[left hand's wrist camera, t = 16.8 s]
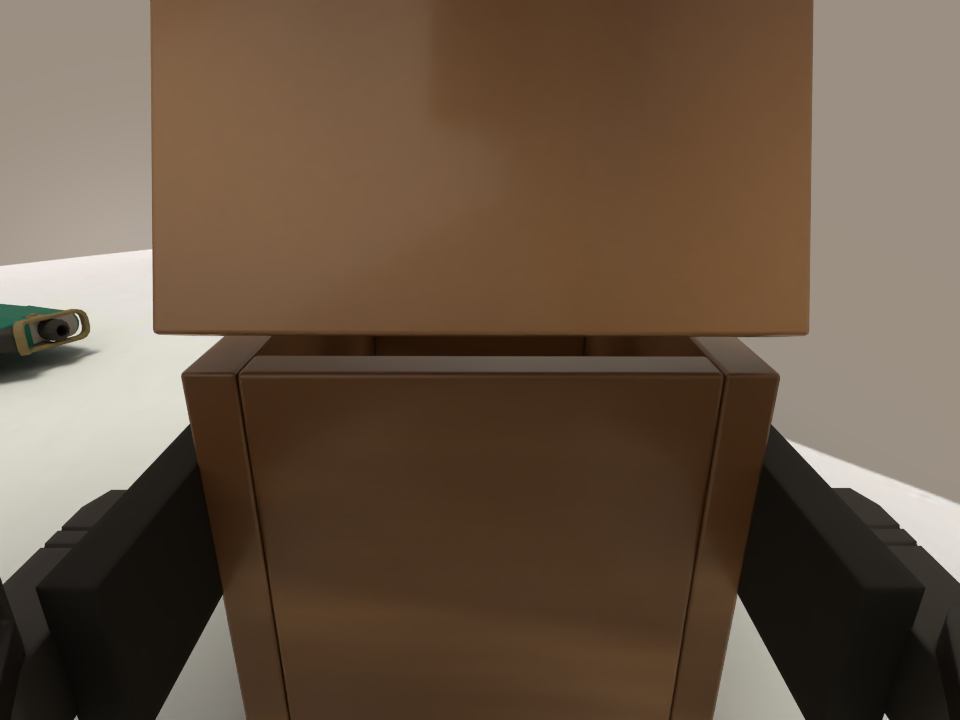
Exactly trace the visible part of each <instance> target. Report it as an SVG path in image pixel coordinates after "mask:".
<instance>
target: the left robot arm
mask: <svg viewBox="0 0 960 720" xmlns="http://www.w3.org/2000/svg"><path fill="white" fill-rule="evenodd" d="M899 526H900V525H899V524H898V523H897V522H896V521H895V520H894V519H893V518H892V517H891V516H890V515H889V514H888V513H887V512H886V511H885V510H884V509H883V508H882V507H881V506H880V505H878V504H876V503H875V502H873V501H871V500H870V499H868V498H866V497H864V496H863V495H861V494H859V493H858V492H856V491H854V490H852V489H851V488H831V487H830V486H829V485H828V484H827V483H826V482H825V481H824V480H823V479H822V477H821V476H820V475H819V474H818V473H817V472H816V471H815V470H814V469H813V468H812V467H811V466H810V465H809V464H808V463H807V462H806V461H805V460H804V458H803V457H802V456H801V455H800V454H799V453H798V452H797V451H796V450H795V449H794V448H793V447H792V446H791V445H790V444H789V443H788V442H787V440H786V439H785V438H784V437H783V436H782V435H781V434H780V433H779V432H778V431H777V430H776V429H775V428H774V427H773V426H772V425H771V427H770V432H769V437H768V442H767V447H766V452H765V457H764V462H763V465H762V470H761V475H760V480H759V486H758V491H757V496H756V501H755V506H754V511H753V516H752V522H751V527H750V532H749V537H748V542H747V547H746V552H745V557H744V563H743V568H742V573H741V578H740V583H739V588H738V593H737V594H738V595H739V597H740V599H741V601H742V603H743V605H744V607H745V608H746V610H747V612H748V614H749V616H750V618H751V620H752V621H753V623H754V625H755V627H756V629H757V631H758V633H759V634H760V636H761V638H762V640H763V642H764V644H765V646H766V647H767V649H768V651H769V653H770V655H771V657H772V659H773V660H774V662H775V664H776V666H777V668H778V670H779V672H780V673H781V675H782V677H783V679H784V681H785V683H786V685H787V686H788V688H789V690H790V692H791V694H792V696H793V698H794V699H795V701H796V703H797V705H798V707H799V709H800V710H801V712H802V714H803V716H804V718H805V720H882V719H883V716H884V713H885V714H886V716H887V717H888V718H889V720H960V583H959V582H958V581H957V580H956V579H955V578H954V577H952V576H951V575H950V574H949V573H948V572H947V571H946V570H945V569H944V568H943V567H942V566H941V565H940V564H939V563H938V562H937V561H936V560H935V559H934V558H933V557H932V556H931V555H930V554H929V553H928V552H927V551H926V550H925V549H924V548H923V547H922V546H917V541H915V540H914V539H913V538H912V537H911V536H910V535H909V534H908V533H907V532H906V531H905V530H904V529H900V527H899ZM222 595H223V593H222V588H221V582H220V577H219V572H218V567H217V562H216V557H215V551H214V546H213V541H212V536H211V531H210V525H209V520H208V515H207V509H206V504H205V499H204V494H203V488H202V483H201V478H200V473H199V467H198V462H197V457H196V452H195V446H194V441H193V436H192V431H191V425H190V424H189V425H188V426H187V427H186V428H185V430H184V431H183V432H182V433H181V434H180V435H179V436H178V437H177V438H176V439H175V440H174V441H173V442H172V443H171V444H170V445H169V446H168V448H167V449H166V450H165V451H164V452H163V453H162V454H161V455H160V456H159V457H158V458H157V459H156V460H155V461H154V462H153V463H152V464H151V466H150V467H149V468H148V469H147V470H146V471H145V472H144V473H143V474H142V475H141V476H140V477H139V478H138V479H137V480H136V481H135V482H134V483H133V485H132V486H131V487H130V488H129V489H128V490H110V491H109V492H107V493H105V494H104V495H102V496H100V497H98V498H97V499H95V500H93V501H92V502H90V503H88V504H87V505H85V506H83V507H82V508H81V509H80V510H79V511H78V512H77V513H76V514H75V515H74V516H73V517H72V518H71V519H70V520H69V521H67V522H66V523H65V524H64V525H63V526H62V530H61V531H57V532H56V533H55V534H54V535H53V536H52V537H51V538H50V539H49V540H48V541H47V542H46V543H45V547H44V548H40V549H39V550H38V551H37V552H36V553H35V554H34V555H33V556H32V557H31V558H30V559H29V560H28V561H27V562H26V563H25V564H24V565H23V566H22V567H21V568H20V569H19V570H17V571H16V572H15V573H14V574H13V575H12V576H11V577H10V578H9V579H8V580H7V581H6V582H5V583H4V584H2V581H1V578H0V720H74V718H75V717H76V715H77V716H78V719H79V720H155V719H156V717H157V715H158V714H159V712H160V710H161V708H162V706H163V704H164V702H165V701H166V699H167V697H168V695H169V693H170V691H171V689H172V688H173V686H174V684H175V682H176V680H177V678H178V676H179V675H180V673H181V671H182V669H183V667H184V665H185V663H186V662H187V660H188V658H189V656H190V654H191V652H192V650H193V649H194V647H195V645H196V643H197V641H198V639H199V637H200V636H201V634H202V632H203V630H204V628H205V626H206V624H207V623H208V621H209V619H210V617H211V615H212V613H213V611H214V610H215V608H216V606H217V604H218V602H219V600H220V598H221V597H222Z"/></svg>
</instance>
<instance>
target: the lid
mask: <svg viewBox="0 0 960 720" xmlns="http://www.w3.org/2000/svg"><path fill="white" fill-rule="evenodd" d="M150 9H151V124H152V125H151V127H152V243H153V330H154V333H156V334H159V335H184V336H505V337H787V336H805V335H807V334H808V333H809V293H810V217H811V139H812V63H813V0H150Z"/></svg>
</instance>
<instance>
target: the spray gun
mask: <svg viewBox="0 0 960 720" xmlns="http://www.w3.org/2000/svg"><path fill="white" fill-rule="evenodd" d="M74 313H76V314H78V315H79V317H80V320H81V324H82V331H81V333H80V334H79V335H77V336H73V337H69V338H67V337H68V336H71V335H73V334H75V333H76V331H77V330H78V327H79V320H78V318H77V316H76V315H75V314H74ZM89 332H90V324H89V320H88V317H87V315H86V313H85V312H84V311H82V310H78V309H70V310H57V309H49V308H42V307H35V306H17V305H6V304H0V353H6V352H16V351H17V349H18V352H19V353H20V355H21V356H23V355H30V354H31V353H33V352H37V351H40V350H44V349H48V348H51V347H55V346H59V345H62V344H66V343H70V342H74V341H77V340H81V339H83V338H85V337H87V336H88V334H89ZM51 340H52V341H51ZM53 341H54V342H53ZM35 346H36V347H35Z"/></svg>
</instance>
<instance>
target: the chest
mask: <svg viewBox="0 0 960 720" xmlns="http://www.w3.org/2000/svg"><path fill="white" fill-rule="evenodd" d="M181 378H182V383H183V389H184V394H185V399H186V404H187V410H188V415H189V420H190V425H191V431H192V436H193V441H194V446H195V452H196V457H197V462H198V467H199V473H200V478H201V483H202V488H203V494H204V499H205V504H206V509H207V515H208V520H209V525H210V531H211V536H212V541H213V546H214V551H215V557H216V562H217V567H218V572H219V577H220V582H221V588H222V593H223V599H224V604H225V609H226V615H227V620H228V625H229V630H230V636H231V641H232V646H233V651H234V657H235V662H236V667H237V672H238V678H239V683H240V688H241V693H242V699H243V704H244V709H245V714H246V720H713V716H714V710H715V705H716V700H717V695H718V690H719V685H720V680H721V675H722V670H723V665H724V660H725V655H726V650H727V645H728V640H729V634H730V629H731V624H732V619H733V614H734V609H735V604H736V599H737V593H738V588H739V583H740V578H741V573H742V568H743V563H744V557H745V552H746V547H747V542H748V537H749V532H750V527H751V522H752V516H753V511H754V506H755V501H756V496H757V491H758V486H759V480H760V475H761V470H762V465H763V462H764V457H765V452H766V447H767V442H768V437H769V432H770V427H771V421H772V416H773V411H774V406H775V401H776V396H777V391H778V386H779V381H780V376H779V374H778V373H777V372H776V371H775V370H774V369H772V368H771V367H770V366H769V365H768V364H767V363H766V362H764V361H763V360H762V359H761V358H760V357H759V356H757V355H756V354H755V353H754V352H753V351H752V350H750V349H749V348H748V347H747V346H746V345H745V344H743V343H742V342H741V341H740V340H739V339H738V338H737V337H505V336H224V337H223V338H222V339H221V340H220V341H218V342H217V343H216V344H215V345H214V346H213V347H211V348H210V349H209V350H208V351H207V352H206V353H205V354H203V355H202V356H201V357H200V358H199V359H198V360H196V361H195V362H194V363H193V364H192V365H191V366H190V367H188V368H187V369H186V370H185V371H184V372H183V373H182V375H181Z"/></svg>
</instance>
